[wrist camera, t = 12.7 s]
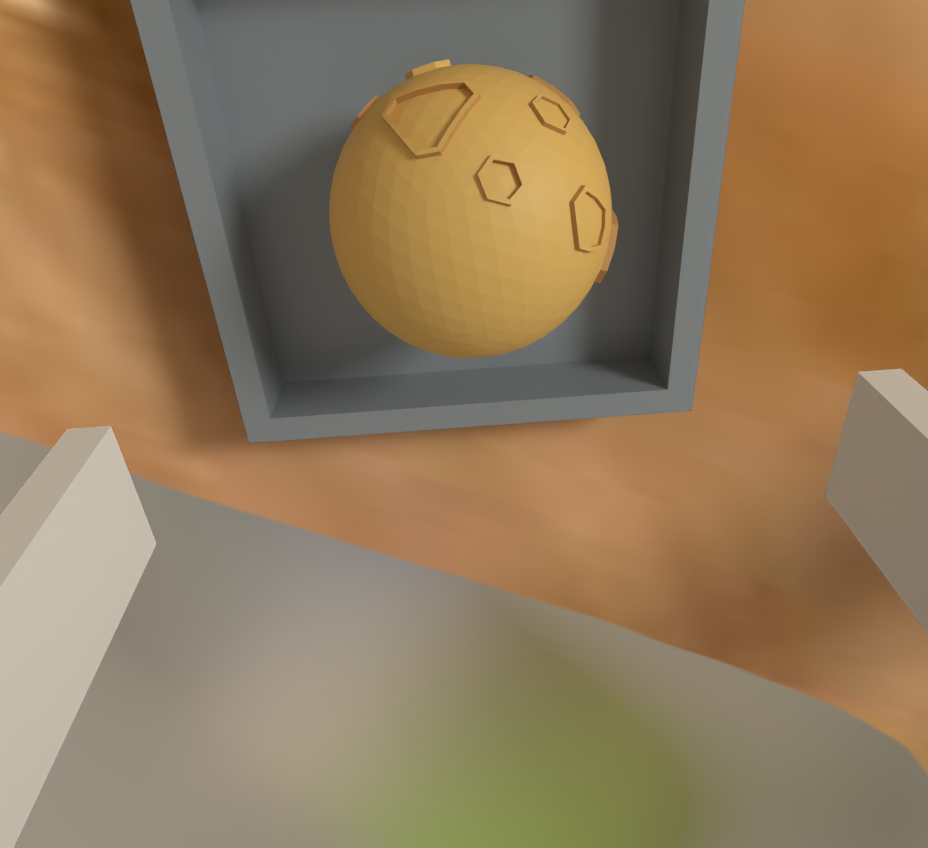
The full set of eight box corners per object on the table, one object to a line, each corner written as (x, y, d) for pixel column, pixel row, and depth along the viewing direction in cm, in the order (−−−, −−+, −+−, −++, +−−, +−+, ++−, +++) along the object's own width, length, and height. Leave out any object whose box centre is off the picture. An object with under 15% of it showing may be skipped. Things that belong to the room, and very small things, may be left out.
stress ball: (447, 307, 34) (645, 351, 28) (278, 354, 27) (500, 425, 21) (451, 71, 30) (683, 68, 24) (256, 50, 23) (521, 39, 17)
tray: (720, -138, 25) (765, -154, 22) (667, 368, 36) (691, 410, 33) (145, -97, 25) (101, -106, 22) (265, 397, 36) (248, 443, 33)
